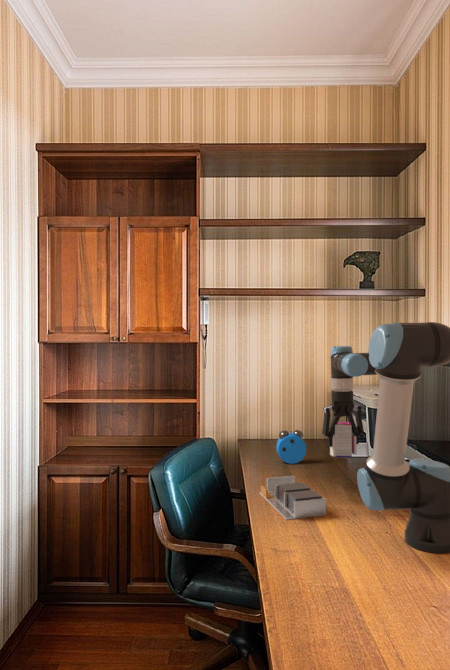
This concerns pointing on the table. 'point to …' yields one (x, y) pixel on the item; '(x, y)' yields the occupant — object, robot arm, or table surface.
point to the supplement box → (343, 440)
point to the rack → (293, 498)
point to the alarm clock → (291, 446)
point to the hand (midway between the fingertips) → (343, 454)
